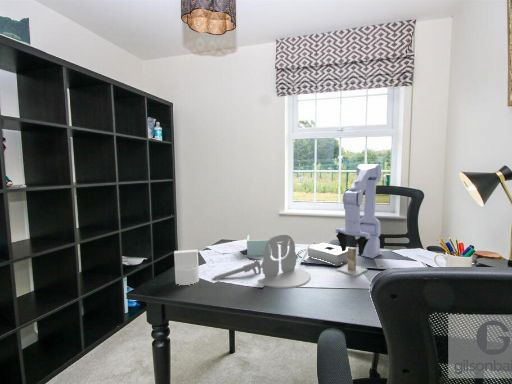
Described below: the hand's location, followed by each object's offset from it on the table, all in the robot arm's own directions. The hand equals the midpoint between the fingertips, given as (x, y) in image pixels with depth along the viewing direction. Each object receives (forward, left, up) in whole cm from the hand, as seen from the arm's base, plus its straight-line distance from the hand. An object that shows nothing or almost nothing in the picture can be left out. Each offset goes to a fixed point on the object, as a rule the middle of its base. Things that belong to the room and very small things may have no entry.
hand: (352, 252), depth 115 cm
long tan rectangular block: (0, 0, -7) cm, 7 cm away
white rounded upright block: (+55, -39, -8) cm, 68 cm away
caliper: (+38, -29, -8) cm, 49 cm away
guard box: (-6, -15, -8) cm, 18 cm away
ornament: (+26, -12, -8) cm, 29 cm away
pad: (0, 0, -8) cm, 8 cm away
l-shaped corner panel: (+10, -47, -8) cm, 49 cm away
